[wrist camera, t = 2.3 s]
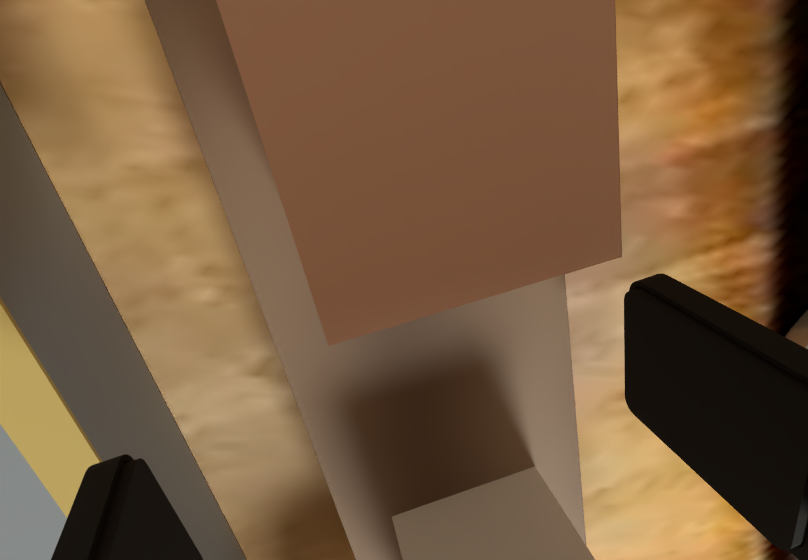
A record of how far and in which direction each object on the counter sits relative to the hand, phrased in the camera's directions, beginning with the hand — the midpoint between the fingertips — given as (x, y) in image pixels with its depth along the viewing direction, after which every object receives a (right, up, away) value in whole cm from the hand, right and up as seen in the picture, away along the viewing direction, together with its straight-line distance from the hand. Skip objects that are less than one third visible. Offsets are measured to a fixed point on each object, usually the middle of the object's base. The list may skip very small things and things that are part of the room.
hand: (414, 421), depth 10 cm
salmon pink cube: (-1, +6, 0) cm, 6 cm away
